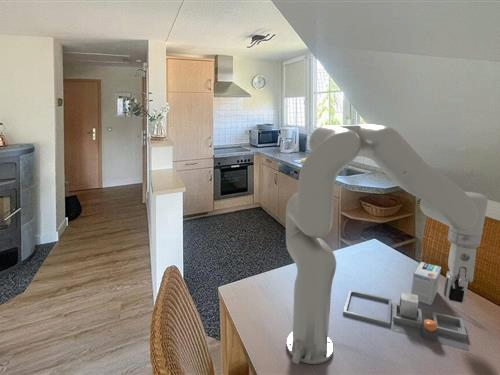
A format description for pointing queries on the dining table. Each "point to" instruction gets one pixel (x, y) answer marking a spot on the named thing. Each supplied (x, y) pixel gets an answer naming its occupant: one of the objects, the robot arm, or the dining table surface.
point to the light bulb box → (426, 282)
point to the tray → (368, 316)
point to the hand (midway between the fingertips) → (454, 295)
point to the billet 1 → (408, 306)
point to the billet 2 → (449, 284)
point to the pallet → (439, 337)
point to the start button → (430, 325)
